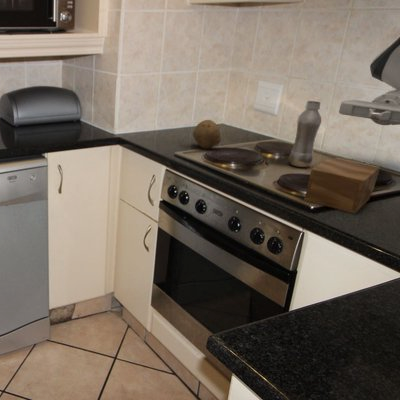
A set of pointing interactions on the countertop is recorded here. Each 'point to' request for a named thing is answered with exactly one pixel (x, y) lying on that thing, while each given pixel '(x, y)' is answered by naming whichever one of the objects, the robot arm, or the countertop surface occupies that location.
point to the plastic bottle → (306, 135)
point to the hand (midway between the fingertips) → (375, 116)
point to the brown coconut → (207, 134)
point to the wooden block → (341, 184)
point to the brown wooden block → (361, 164)
